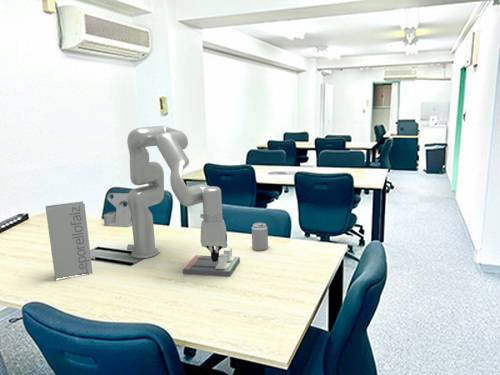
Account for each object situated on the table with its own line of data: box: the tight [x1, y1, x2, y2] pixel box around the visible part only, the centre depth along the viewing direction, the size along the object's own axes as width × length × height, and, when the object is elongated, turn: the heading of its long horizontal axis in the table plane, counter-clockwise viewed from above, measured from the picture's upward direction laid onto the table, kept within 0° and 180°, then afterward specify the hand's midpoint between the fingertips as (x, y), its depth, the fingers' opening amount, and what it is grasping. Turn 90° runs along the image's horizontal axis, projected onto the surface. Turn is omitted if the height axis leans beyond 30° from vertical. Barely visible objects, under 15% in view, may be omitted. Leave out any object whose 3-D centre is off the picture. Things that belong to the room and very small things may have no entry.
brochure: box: [45, 200, 94, 279], centre depth 171 cm, size 14×6×30 cm, turn 117°
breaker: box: [223, 246, 236, 262], centre depth 178 cm, size 5×5×5 cm
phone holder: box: [103, 192, 132, 228], centre depth 246 cm, size 17×10×18 cm, turn 75°
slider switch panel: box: [182, 254, 241, 277], centre depth 177 cm, size 20×16×2 cm
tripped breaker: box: [215, 253, 231, 270], centre depth 171 cm, size 5×5×5 cm
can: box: [251, 222, 269, 252], centre depth 196 cm, size 8×8×12 cm
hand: (215, 260), depth 171 cm, fingers closed
